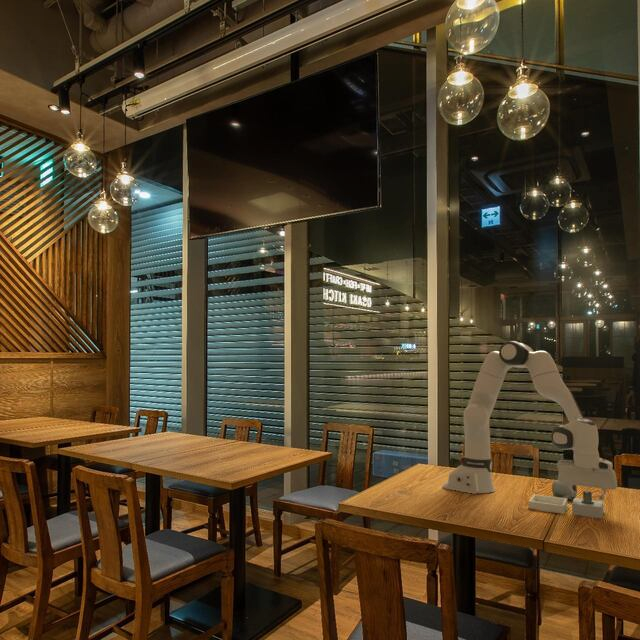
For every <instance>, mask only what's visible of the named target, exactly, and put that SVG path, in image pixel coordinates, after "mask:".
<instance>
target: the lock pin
mask: <svg viewBox="0 0 640 640" xmlns="http://www.w3.org/2000/svg"><path fill="white" fill-rule="evenodd" d="M592 498H593V492H592V491H588V490H583V491H582V499H583V503H585V504H592V500H593V499H592Z"/></svg>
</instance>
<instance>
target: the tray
mask: <svg viewBox="0 0 640 640" xmlns="http://www.w3.org/2000/svg"><path fill="white" fill-rule="evenodd" d="M568 506H569V505H568V499H566V498H559V497H556V496H555V497H553V496H551V495H550V496H549V495H542V494H535V493H534V494H533V495H532V496H531V497H530V498H529V500H528V509H529V510H532V511H533V510H534V511H541V512H547V513H556V514H561V515H564V514H565V513H566V511H567V508H568Z"/></svg>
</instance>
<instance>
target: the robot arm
mask: <svg viewBox="0 0 640 640" xmlns="http://www.w3.org/2000/svg"><path fill="white" fill-rule="evenodd" d="M511 368H512V369H514V370H527V371H528V372H529V375H530V377H531V380H532V383H533V386H534V388H535V391H536V392H537V393H538V395H541V396H542V397H544V398H546V399H549V400H551V401H554V402H555V403H557V404H558V405H559V406H560V407H561V408H562V410H563V412H564V414H565V417H566V418H567V420H568V423H566V424H561V425H556V426H555V427H553V429H552V430H551V433H550V438H551V441H552V444H553V446H555V448H557V449H558V450H567V451H568V450H572V451H573V459H560V460H558V461H557V463H556V467H557V469H558V475H557V480H558V481H559V482H560V483H561V484H568V488H569V489H570V491H571V493H572V497H576V498H577V496H576V491H573V489H572V486H573V485H576V486H578V487H580V486H581V487H588V488H596V489H601V490H602V493H601V494H599V493H598V494H599V495H598V501H603V502H604V500H605V499H604V498H605V497H604V496H605V495H606V493H607V491H608V490H612V491H615V490H616V489H617V488H618V481H617V476H616V472H615V470H614V469H613V467H614V466H613V462H611V461H610V460H607V459H605V458H602V457H600V453H599V450H598V449H599V442H600V441H599V440H600V439H599V438H600V437H599V431H598V430H599V429H598V426H597V424H596V422H595V421H594V420H591V419H588V418H585V416H584V414H583V412H582V410H581V408H580V406H579V405H578V402H577V400H576V398H575V396H574V394H573V393H572V391H571V390H570V388H568V387H567V385H566V384H565V382H564V381H563V379H562V376H561V375H560V372H559V369H558V366H557V365H556V363H555V360H554V359H553V357H552V355H551V353H549V352H547V351H545V350H536V351H535V350H534V349H533V348H532V347H531V346H529V345H528V344H525V343H522V342H518V341H516V340H510V341H506V342H504V343H503V344H501V346H500V348H499V350H498V351H497V350H494V351H490V352H489V353H488V354H487V355H486V357H485V359H484V361H483V363H482V364H481V367H480V369H479V372H478V375H477V377H476V380H475V383H474V386H473V389H472V391H471V394H470V398H469V401H468V403H467V406H466V407H465V408H464V410H463V414H462V415H463V432H464V455H463V456H461V458H460V459H459V462H460V465H458V466H457V467H456V468H455V469H453V470H452V471H450V472H449V475H448V478H447V481H446V482H444V483H443V484H442V485H443V486H442V488H443V489H445V490H450V491H451V490H452V491H455V490H456V492H462V493H466V492H467V494H471V493H472V495H478V494H489V493H490V492H491V493H493V492H495V490H496V489H495V487H494V482H493V476H492V470H493V462H492V461H493V460H492V458H491V431H490V418H491V415H492V412H493V410H494V407H495V405H496V402H497V400H498V399H497V398H498V397H499V394H500V392H501V388H502V386H503V383H504V380H505V378H506V375H507V372H508V371H509V370H510V369H511ZM477 493H478V494H477Z"/></svg>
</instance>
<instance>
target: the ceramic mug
mask: <svg viewBox="0 0 640 640" xmlns="http://www.w3.org/2000/svg"><path fill="white" fill-rule="evenodd" d="M572 489H573V491H576V497H572V493H571V491H570V489H569V488H568V484H561V483H560V482H559V481H558V479H555V480H554V481H553V482H552V485H551V492H552V497H559V498H566V499H567V500H570V501H573V500H574V498H577V494H578V488H577V485H573V486H572Z"/></svg>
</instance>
